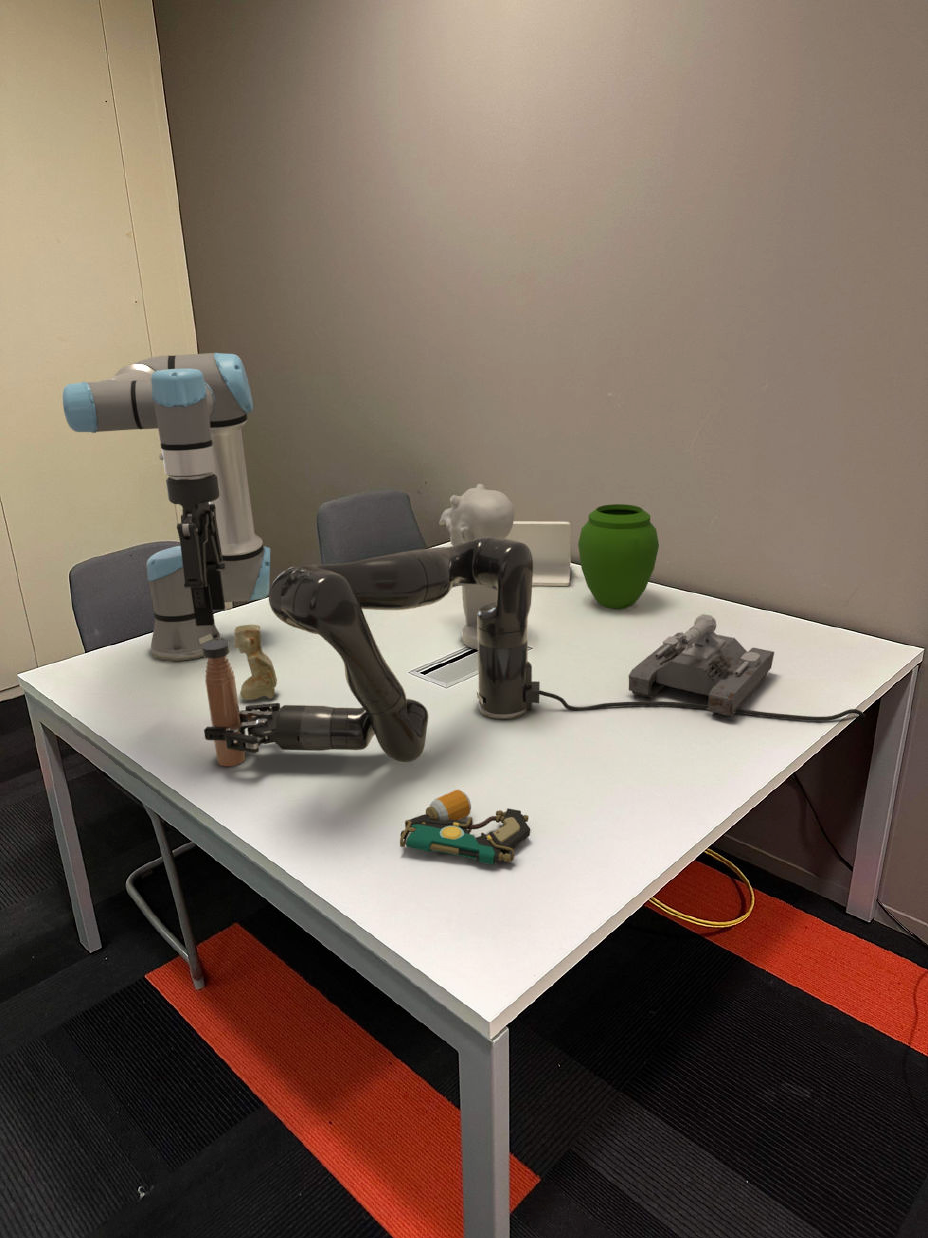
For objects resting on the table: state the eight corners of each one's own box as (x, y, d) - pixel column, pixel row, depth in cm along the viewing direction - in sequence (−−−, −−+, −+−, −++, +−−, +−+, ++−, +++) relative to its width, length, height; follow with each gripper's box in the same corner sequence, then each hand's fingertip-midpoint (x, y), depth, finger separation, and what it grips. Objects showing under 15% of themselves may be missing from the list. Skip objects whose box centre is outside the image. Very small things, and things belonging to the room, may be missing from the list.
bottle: (223, 752, 150) (207, 641, 142) (249, 753, 149) (234, 642, 142) (213, 766, 145) (195, 652, 138) (239, 767, 145) (223, 653, 137)
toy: (678, 653, 184) (682, 588, 179) (772, 674, 173) (779, 604, 168) (627, 697, 165) (630, 625, 160) (729, 723, 154) (736, 646, 149)
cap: (209, 648, 142) (208, 639, 142) (233, 648, 142) (232, 640, 141) (198, 658, 138) (197, 649, 138) (223, 658, 138) (222, 650, 137)
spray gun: (542, 834, 125) (490, 895, 113) (446, 797, 133) (389, 850, 122) (543, 810, 123) (491, 869, 112) (446, 774, 131) (388, 826, 120)
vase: (599, 587, 227) (601, 497, 218) (668, 600, 216) (673, 505, 208) (562, 608, 212) (564, 513, 204) (634, 623, 202) (639, 523, 193)
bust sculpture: (484, 611, 212) (481, 471, 200) (536, 643, 192) (537, 489, 180) (426, 624, 205) (419, 479, 193) (474, 658, 185) (470, 499, 173)
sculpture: (243, 691, 172) (234, 622, 167) (279, 689, 173) (271, 620, 168) (239, 704, 167) (229, 633, 162) (276, 701, 168) (268, 630, 162)
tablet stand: (569, 585, 229) (570, 524, 223) (476, 584, 232) (475, 523, 226) (570, 566, 246) (571, 508, 240) (484, 564, 249) (483, 507, 243)
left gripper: (184, 464, 139) (203, 597, 147) (146, 489, 121) (170, 640, 129) (230, 462, 139) (247, 596, 147) (199, 487, 121) (220, 638, 129)
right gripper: (317, 689, 149) (223, 687, 150) (294, 728, 135) (191, 725, 137) (321, 727, 151) (228, 725, 153) (299, 769, 138) (197, 766, 140)
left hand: (211, 616), depth 138 cm, fingers open, 6 cm apart
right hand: (211, 725), depth 145 cm, fingers closed on bottle, 4 cm apart
